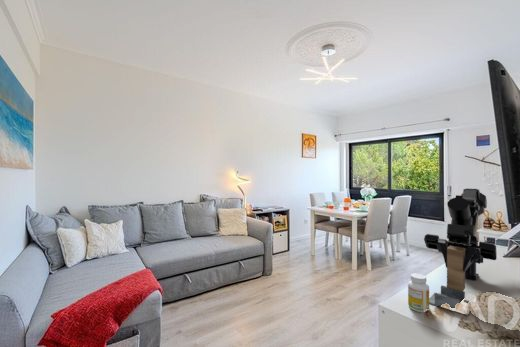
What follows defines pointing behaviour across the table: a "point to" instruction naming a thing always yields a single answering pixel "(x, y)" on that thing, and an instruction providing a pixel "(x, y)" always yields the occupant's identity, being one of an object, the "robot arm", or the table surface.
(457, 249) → the brown wooden block
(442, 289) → the clip
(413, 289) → the supplement bottle
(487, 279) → the table surface
